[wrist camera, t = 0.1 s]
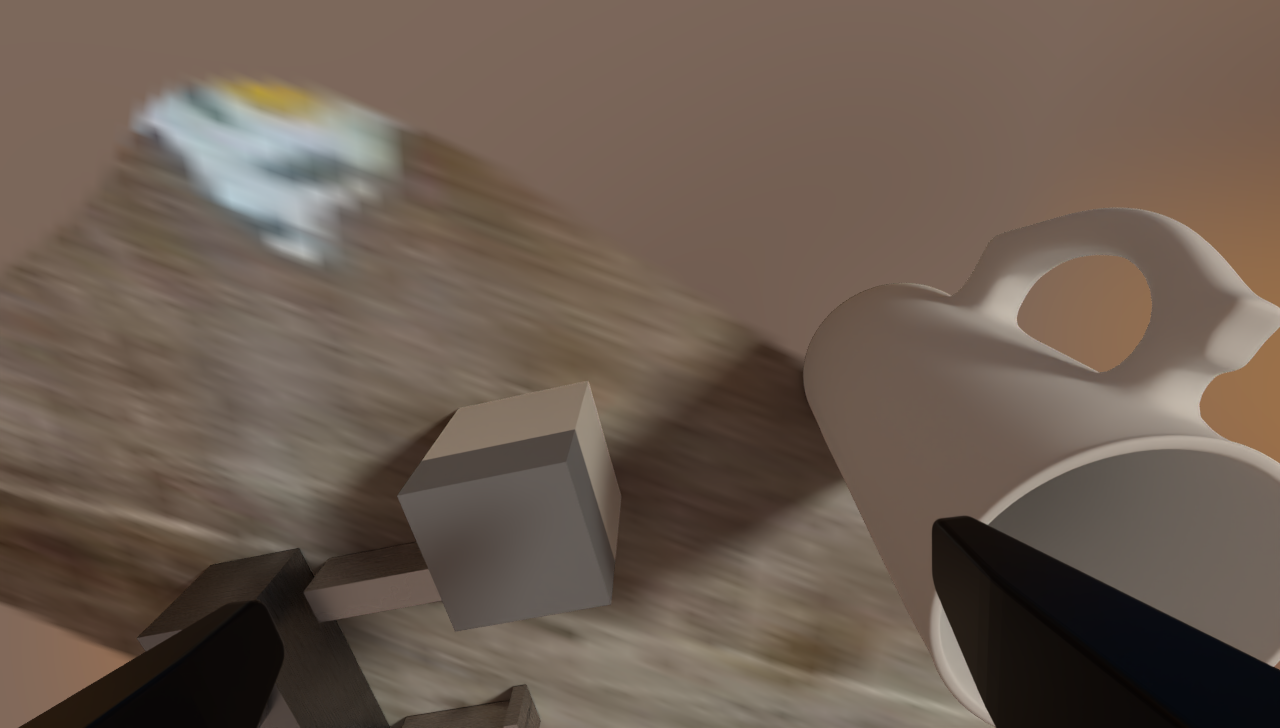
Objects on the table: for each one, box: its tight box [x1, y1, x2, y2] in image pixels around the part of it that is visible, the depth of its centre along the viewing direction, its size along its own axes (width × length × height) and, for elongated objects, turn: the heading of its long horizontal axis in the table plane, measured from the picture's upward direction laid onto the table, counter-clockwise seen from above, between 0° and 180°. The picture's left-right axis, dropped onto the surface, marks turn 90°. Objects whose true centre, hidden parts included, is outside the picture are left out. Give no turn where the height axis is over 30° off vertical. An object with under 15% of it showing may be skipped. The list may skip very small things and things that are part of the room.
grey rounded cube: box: [397, 381, 622, 631], centre depth 21 cm, size 5×5×6 cm
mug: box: [803, 208, 1280, 727], centre depth 16 cm, size 10×7×12 cm, turn 161°
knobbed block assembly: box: [137, 542, 541, 728], centre depth 25 cm, size 11×12×5 cm
